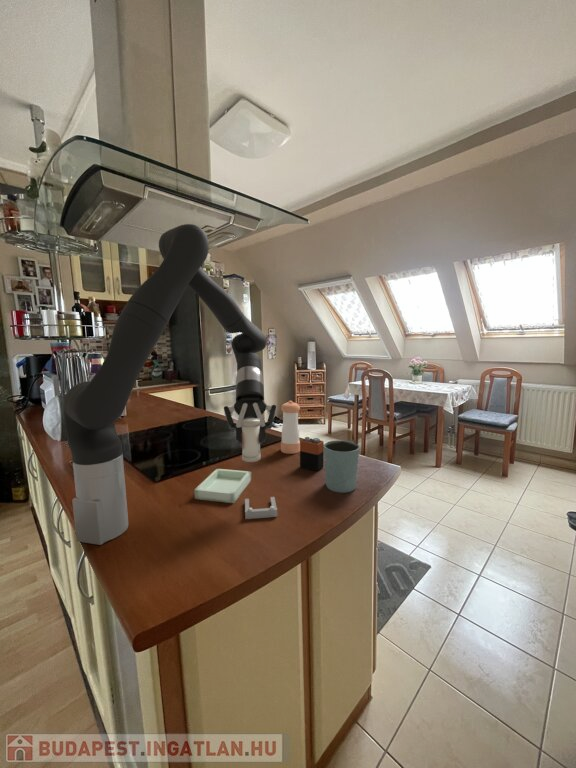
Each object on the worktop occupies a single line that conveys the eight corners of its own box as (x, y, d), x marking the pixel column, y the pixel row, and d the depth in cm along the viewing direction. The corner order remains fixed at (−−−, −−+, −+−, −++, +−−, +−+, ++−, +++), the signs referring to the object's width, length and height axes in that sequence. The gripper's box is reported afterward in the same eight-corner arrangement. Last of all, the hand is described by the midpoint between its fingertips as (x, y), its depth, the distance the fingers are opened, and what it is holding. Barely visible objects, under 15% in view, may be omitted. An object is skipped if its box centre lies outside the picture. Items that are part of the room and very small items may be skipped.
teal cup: (324, 493, 87) (324, 451, 86) (322, 477, 97) (322, 439, 96) (361, 494, 87) (362, 452, 85) (355, 478, 97) (356, 440, 95)
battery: (317, 472, 101) (318, 441, 100) (299, 467, 105) (299, 438, 103) (323, 467, 105) (324, 438, 103) (306, 463, 108) (306, 434, 107)
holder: (277, 516, 76) (277, 507, 76) (245, 519, 75) (245, 510, 75) (274, 501, 83) (274, 492, 83) (245, 503, 82) (244, 494, 82)
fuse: (261, 461, 78) (260, 421, 76) (242, 462, 77) (241, 422, 76) (260, 454, 82) (259, 416, 81) (242, 455, 82) (241, 417, 80)
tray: (233, 503, 82) (233, 493, 82) (194, 498, 84) (194, 489, 84) (251, 479, 96) (251, 471, 95) (217, 476, 98) (216, 468, 98)
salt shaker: (277, 451, 120) (276, 401, 117) (288, 445, 125) (288, 398, 123) (292, 455, 115) (292, 403, 112) (303, 449, 121) (304, 400, 118)
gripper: (222, 378, 83) (219, 437, 73) (276, 377, 85) (281, 435, 75) (224, 395, 89) (222, 451, 79) (275, 393, 91) (279, 448, 81)
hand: (251, 443), depth 77 cm, fingers closed on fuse, 4 cm apart
